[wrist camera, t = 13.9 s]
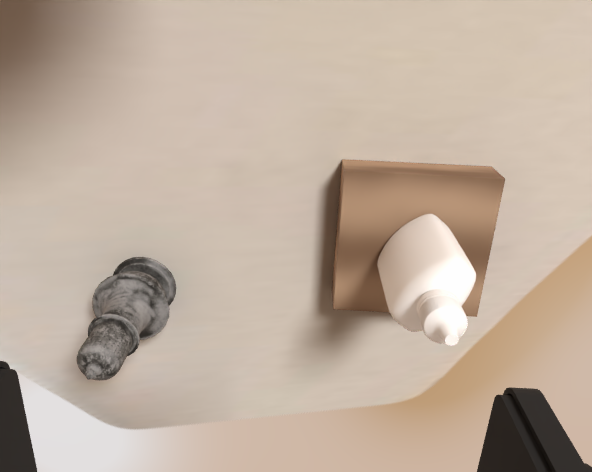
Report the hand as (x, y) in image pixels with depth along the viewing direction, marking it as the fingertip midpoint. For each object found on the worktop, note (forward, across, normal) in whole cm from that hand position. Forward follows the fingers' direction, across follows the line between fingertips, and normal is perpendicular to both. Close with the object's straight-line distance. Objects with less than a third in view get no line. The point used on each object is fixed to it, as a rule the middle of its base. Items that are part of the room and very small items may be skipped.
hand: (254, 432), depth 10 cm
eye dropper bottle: (+28, -9, +8) cm, 30 cm away
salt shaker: (+31, +12, +14) cm, 36 cm away
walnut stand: (+30, -9, +8) cm, 33 cm away
